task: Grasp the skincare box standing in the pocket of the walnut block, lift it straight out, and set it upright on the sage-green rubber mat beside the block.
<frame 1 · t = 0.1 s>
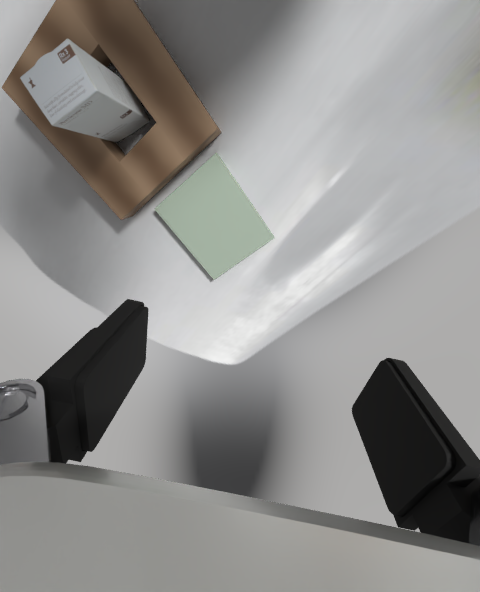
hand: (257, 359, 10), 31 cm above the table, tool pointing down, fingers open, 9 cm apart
pocket block: (124, 114, 33), on the table
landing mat: (215, 222, 38), on the table
skincare box: (125, 114, 33), resting in pocket block
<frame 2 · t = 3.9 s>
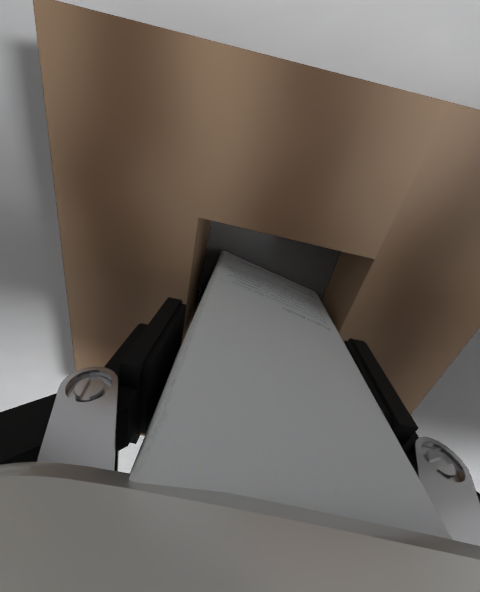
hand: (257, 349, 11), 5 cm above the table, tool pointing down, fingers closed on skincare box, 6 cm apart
pocket block: (259, 298, 15), on the table
skincare box: (259, 296, 15), resting in pocket block, touching gripper
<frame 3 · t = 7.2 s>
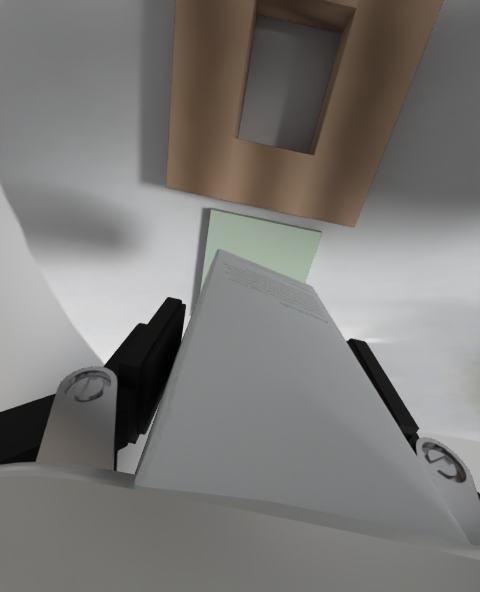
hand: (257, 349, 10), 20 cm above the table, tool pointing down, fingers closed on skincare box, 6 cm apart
pocket block: (284, 92, 22), on the table
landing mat: (253, 277, 30), on the table
skincare box: (255, 293, 15), point 15 cm above the table, touching gripper
when the fingers open (7 cm above the table, at t = 10.5 s): skincare box drops 1 cm, resting on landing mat.
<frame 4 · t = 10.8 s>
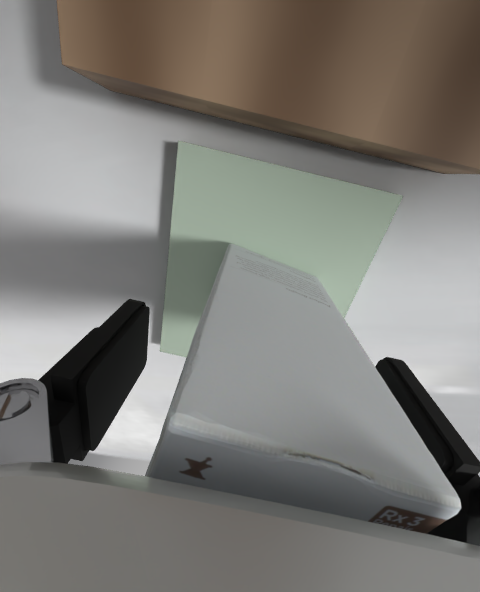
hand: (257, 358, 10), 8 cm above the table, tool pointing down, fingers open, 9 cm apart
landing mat: (259, 282, 17), on the table
skincare box: (264, 284, 16), point 1 cm above the table, touching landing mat
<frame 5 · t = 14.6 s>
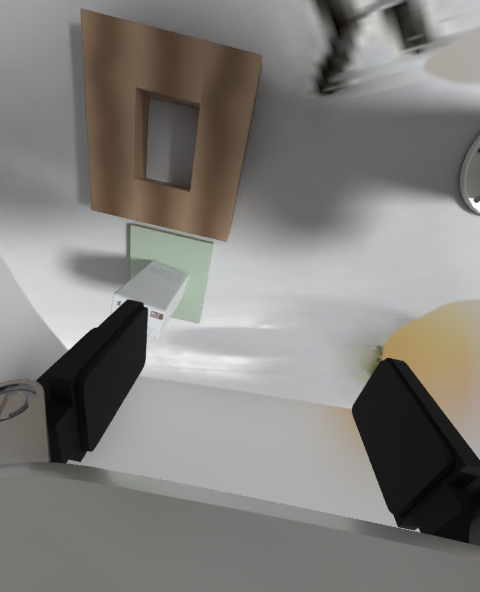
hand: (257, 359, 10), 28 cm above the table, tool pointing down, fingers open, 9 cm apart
pocket block: (174, 146, 32), on the table
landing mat: (169, 276, 40), on the table
skincare box: (170, 277, 39), point 1 cm above the table, touching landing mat
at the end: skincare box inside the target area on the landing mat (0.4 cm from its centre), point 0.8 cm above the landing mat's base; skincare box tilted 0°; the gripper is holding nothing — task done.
